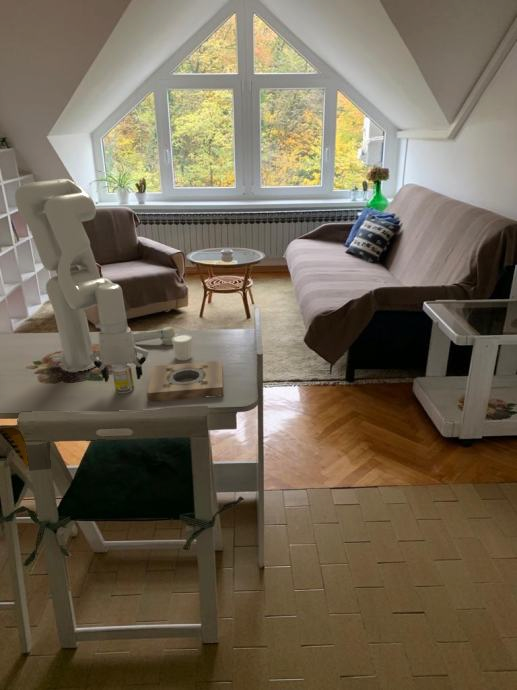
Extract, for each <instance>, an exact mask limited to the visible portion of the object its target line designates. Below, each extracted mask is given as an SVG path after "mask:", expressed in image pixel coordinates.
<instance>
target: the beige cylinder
mask: <svg viewBox="0 0 517 690" xmlns="http://www.w3.org/2000/svg"><path fill="white" fill-rule="evenodd" d="M172 343H173V344H172V347H173V350H174V351H173V352H174V355H175V359H176V360H178V361H187V360H190V359H191V358H193V336H192V335H190V334H185V333H184V334H178V335H177V336H175V337H173V338H172Z"/></svg>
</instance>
